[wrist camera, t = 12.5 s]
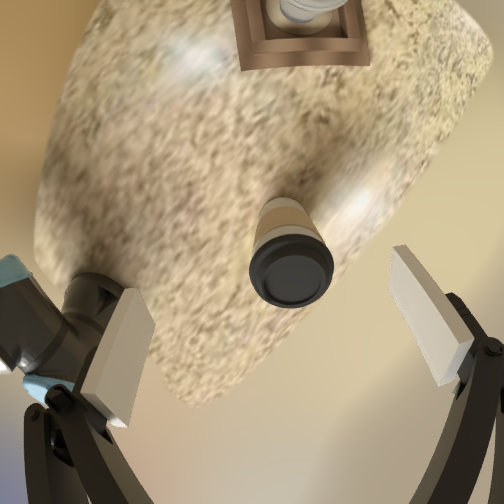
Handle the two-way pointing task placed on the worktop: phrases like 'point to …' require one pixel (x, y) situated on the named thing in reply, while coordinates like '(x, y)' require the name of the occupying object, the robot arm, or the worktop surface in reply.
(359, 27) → the holder
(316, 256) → the coffee cup
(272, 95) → the worktop surface
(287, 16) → the cup
